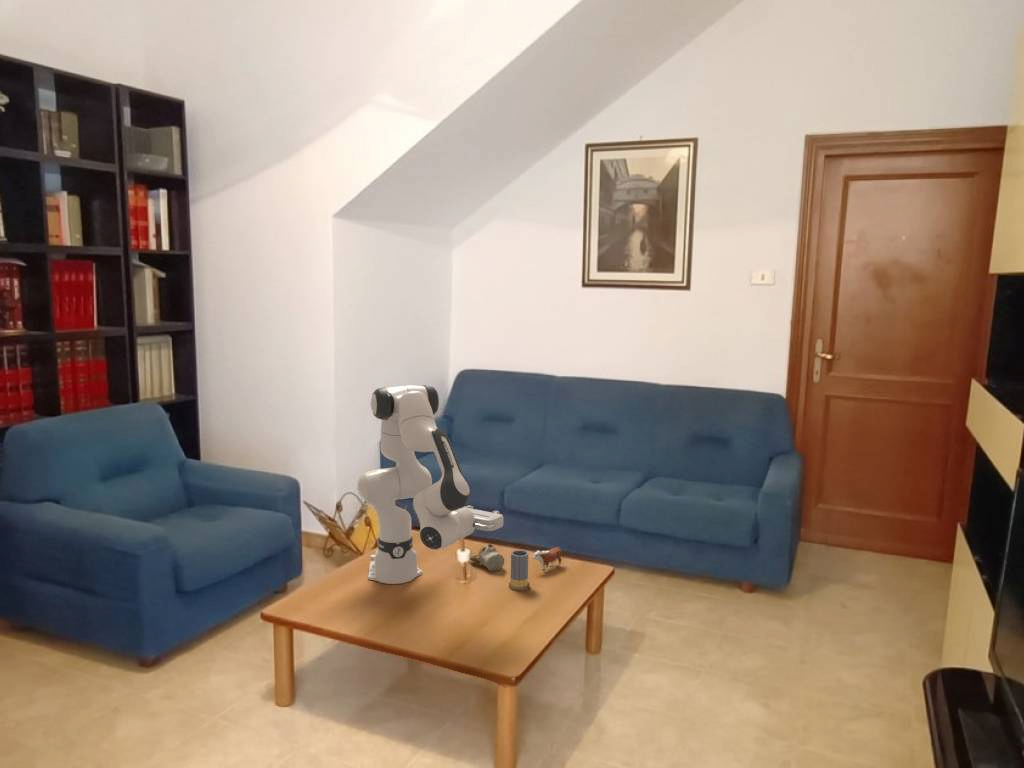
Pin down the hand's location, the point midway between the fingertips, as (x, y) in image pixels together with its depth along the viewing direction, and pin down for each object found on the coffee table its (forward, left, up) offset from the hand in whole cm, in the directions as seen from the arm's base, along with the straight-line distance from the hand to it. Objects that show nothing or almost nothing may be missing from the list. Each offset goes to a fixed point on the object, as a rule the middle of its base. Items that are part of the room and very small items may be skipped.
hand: (484, 510), depth 242 cm
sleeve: (-12, +16, -31) cm, 37 cm away
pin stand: (-12, +16, -32) cm, 38 cm away
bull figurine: (-23, +31, -32) cm, 51 cm away
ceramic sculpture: (-32, +12, -32) cm, 47 cm away
